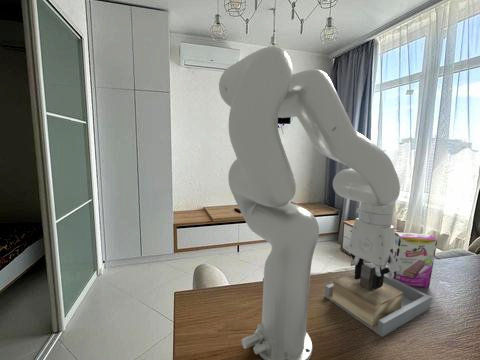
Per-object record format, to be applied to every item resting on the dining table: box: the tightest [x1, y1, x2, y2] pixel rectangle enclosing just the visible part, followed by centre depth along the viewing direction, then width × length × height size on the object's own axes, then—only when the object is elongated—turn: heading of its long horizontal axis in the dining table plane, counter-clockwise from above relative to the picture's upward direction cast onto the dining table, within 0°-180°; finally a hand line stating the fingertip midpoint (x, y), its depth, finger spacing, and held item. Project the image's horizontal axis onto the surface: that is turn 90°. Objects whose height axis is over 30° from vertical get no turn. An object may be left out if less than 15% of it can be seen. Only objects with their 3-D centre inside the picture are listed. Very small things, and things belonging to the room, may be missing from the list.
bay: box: [324, 274, 433, 338], centre depth 71 cm, size 22×17×4 cm
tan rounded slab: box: [332, 262, 403, 327], centre depth 67 cm, size 12×12×12 cm
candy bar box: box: [386, 231, 438, 289], centre depth 80 cm, size 11×5×16 cm, turn 84°
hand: (367, 282), depth 67 cm, fingers open, 4 cm apart
